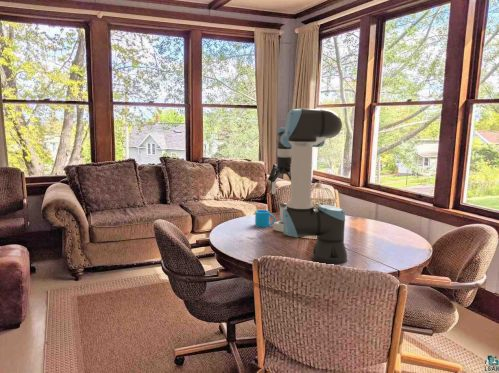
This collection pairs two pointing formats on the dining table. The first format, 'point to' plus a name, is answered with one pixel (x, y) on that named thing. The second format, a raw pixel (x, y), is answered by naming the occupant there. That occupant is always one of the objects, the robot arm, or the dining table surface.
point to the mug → (263, 218)
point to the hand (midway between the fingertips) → (283, 195)
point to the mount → (278, 226)
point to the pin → (282, 207)
